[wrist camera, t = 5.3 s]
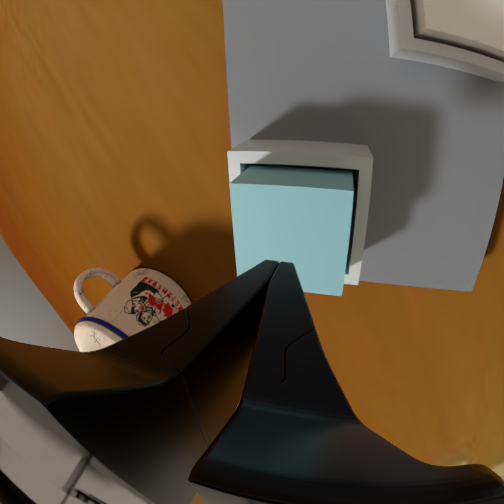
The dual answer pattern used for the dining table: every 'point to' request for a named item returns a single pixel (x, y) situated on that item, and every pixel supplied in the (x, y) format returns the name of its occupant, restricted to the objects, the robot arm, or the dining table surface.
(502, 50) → the cream key
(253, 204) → the teal key
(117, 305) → the teacup with lid
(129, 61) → the dining table surface
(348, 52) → the grey rectangular board
